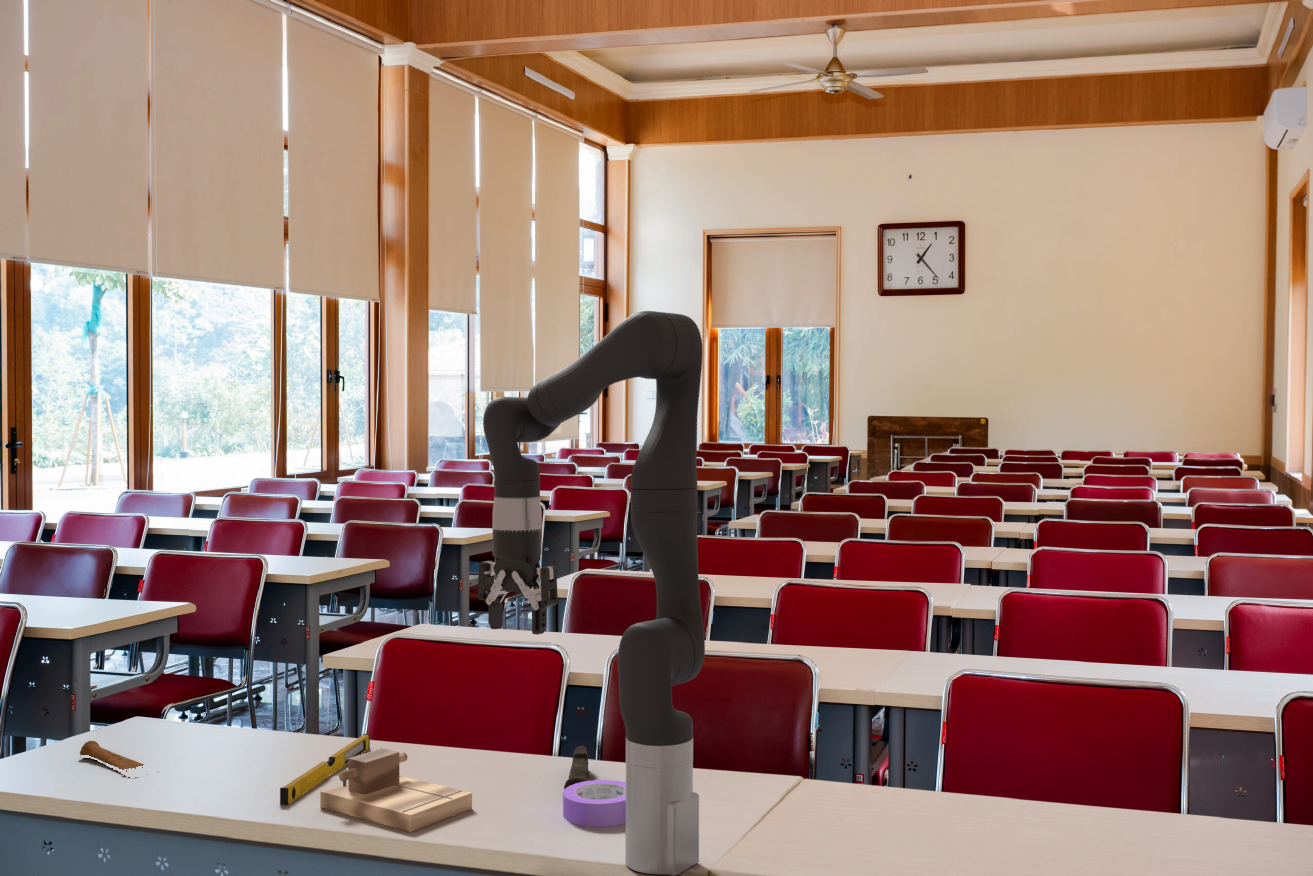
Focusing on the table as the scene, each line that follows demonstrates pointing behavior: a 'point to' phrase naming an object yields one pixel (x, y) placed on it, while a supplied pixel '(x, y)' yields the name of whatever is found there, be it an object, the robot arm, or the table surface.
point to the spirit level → (323, 770)
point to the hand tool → (578, 767)
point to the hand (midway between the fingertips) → (516, 631)
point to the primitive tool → (108, 756)
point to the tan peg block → (373, 771)
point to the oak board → (399, 803)
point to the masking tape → (595, 803)
